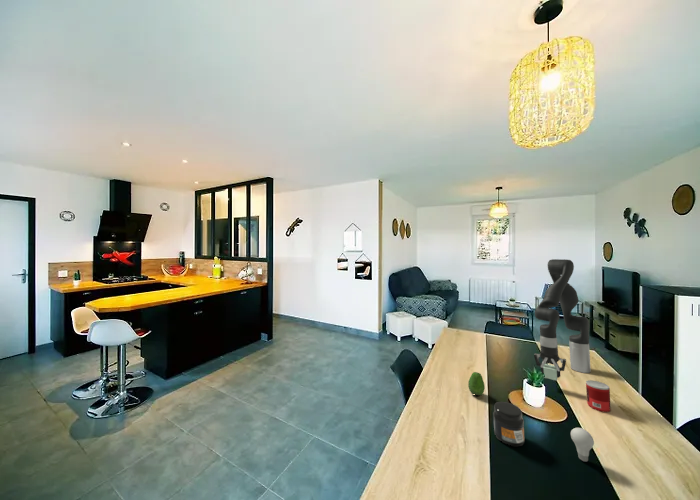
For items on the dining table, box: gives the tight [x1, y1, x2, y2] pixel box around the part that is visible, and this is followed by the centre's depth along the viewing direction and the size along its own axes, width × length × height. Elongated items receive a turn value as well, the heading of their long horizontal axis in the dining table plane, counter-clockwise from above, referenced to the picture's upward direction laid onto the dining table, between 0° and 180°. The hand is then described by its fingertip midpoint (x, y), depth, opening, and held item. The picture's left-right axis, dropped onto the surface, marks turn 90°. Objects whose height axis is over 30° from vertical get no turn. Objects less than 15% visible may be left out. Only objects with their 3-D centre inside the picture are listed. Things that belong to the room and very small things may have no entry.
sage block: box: [543, 363, 558, 381], centre depth 136 cm, size 6×6×6 cm
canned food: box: [585, 379, 612, 413], centre depth 118 cm, size 8×8×11 cm
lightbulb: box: [570, 427, 595, 462], centre depth 89 cm, size 6×6×11 cm
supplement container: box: [492, 401, 526, 447], centre depth 101 cm, size 10×10×12 cm
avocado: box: [467, 371, 485, 396], centre depth 132 cm, size 8×8×12 cm
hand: (550, 375), depth 135 cm, fingers closed on sage block, 5 cm apart
